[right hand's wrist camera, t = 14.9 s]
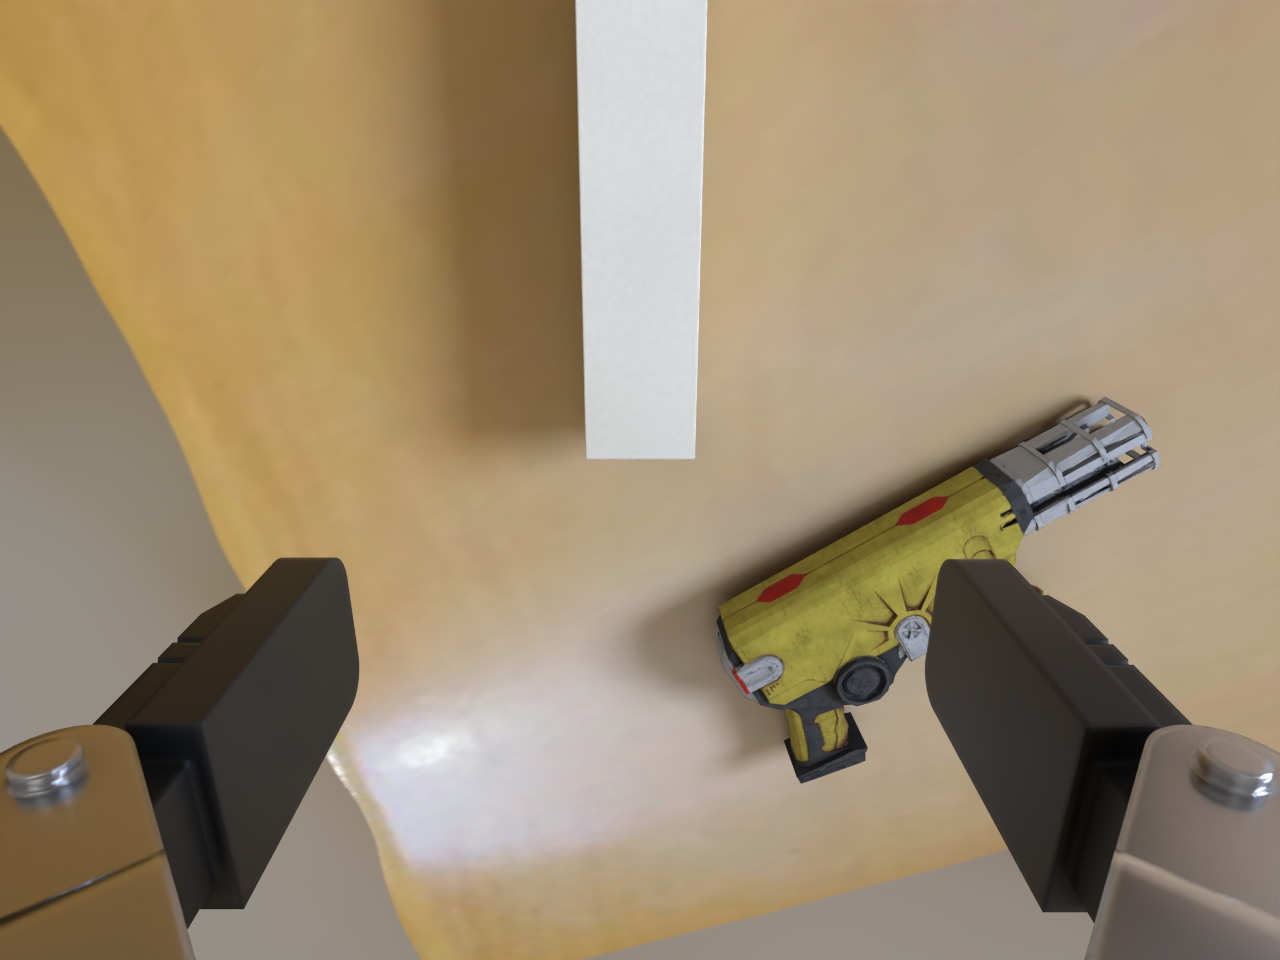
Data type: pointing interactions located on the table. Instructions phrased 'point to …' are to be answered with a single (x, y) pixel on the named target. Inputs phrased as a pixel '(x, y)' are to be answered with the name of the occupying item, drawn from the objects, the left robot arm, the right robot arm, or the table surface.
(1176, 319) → the table surface
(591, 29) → the bar
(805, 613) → the toy gun
